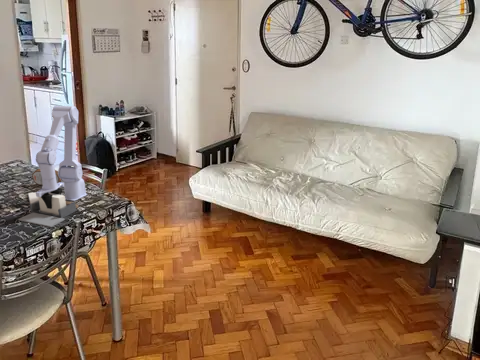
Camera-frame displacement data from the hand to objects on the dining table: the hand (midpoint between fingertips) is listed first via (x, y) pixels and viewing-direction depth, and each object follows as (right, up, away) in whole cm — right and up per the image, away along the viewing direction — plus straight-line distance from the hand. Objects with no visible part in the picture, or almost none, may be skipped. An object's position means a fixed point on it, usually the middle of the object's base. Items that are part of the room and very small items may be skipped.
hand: (53, 206), depth 200 cm
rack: (0, -2, +1) cm, 2 cm away
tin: (-17, +9, +34) cm, 39 cm away
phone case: (-13, +2, +15) cm, 20 cm away
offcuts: (+3, 0, +7) cm, 7 cm away
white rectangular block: (0, -2, +1) cm, 2 cm away
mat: (-2, -5, -8) cm, 10 cm away
